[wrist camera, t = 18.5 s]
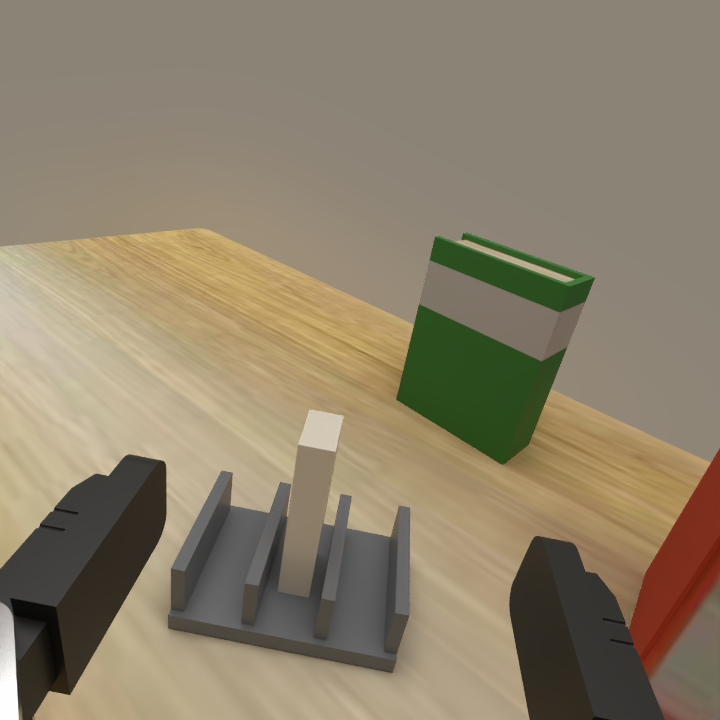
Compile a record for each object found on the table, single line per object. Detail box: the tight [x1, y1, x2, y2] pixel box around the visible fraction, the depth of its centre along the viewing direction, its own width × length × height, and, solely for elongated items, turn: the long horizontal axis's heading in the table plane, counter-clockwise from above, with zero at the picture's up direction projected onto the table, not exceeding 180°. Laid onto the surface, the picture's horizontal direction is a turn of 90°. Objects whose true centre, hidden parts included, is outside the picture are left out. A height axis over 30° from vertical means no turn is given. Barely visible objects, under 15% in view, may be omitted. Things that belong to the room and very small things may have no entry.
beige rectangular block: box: [277, 409, 344, 598], centre depth 41 cm, size 4×3×15 cm, turn 175°
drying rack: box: [168, 471, 410, 672], centre depth 43 cm, size 12×17×6 cm
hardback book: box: [396, 233, 595, 465], centre depth 67 cm, size 18×7×24 cm, turn 47°
